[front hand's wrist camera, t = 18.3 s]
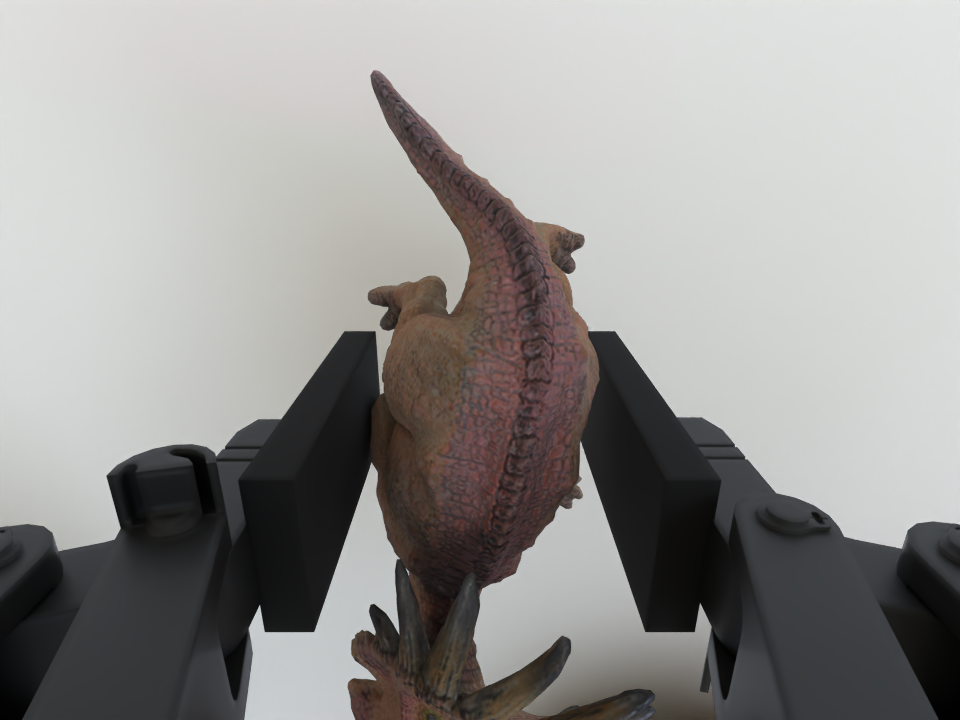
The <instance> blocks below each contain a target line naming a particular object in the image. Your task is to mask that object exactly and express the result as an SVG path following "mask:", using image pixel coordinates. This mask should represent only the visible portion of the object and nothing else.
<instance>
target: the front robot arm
mask: <svg viewBox="0 0 960 720" xmlns="http://www.w3.org/2000/svg"><path fill="white" fill-rule="evenodd" d="M588 337H589V339H590V341H591V343H592V345H593V347H594V349H595V352H596V354H597V358H598V364H599V379H600V380H599V382H598V384H597V387H596V391H595V394H594V397H593V400H592V405H591V409H590V412H589V414H588V420H587V424H586V426H585V428H584V430H583V432H582V436H581V443H582V446H583V449H584V452H585V455H586V458H587V461H588V464H589V467H590V470H591V472H592V475H593V478H594V481H595V484H596V487H597V490H598V493H599V496H600V499H601V502H602V505H603V508H604V511H605V514H606V517H607V520H608V523H609V526H610V529H611V532H612V535H613V538H614V540H615V543H616V546H617V549H618V552H619V555H620V558H621V561H622V564H623V567H624V570H625V573H626V576H627V579H628V582H629V585H630V588H631V591H632V594H633V597H634V600H635V603H636V606H637V609H638V611H639V614H640V617H641V620H642V623H643V626H644V629H645V632H695V627H696V622H697V616H698V610H699V605H700V603H701V605H702V607H703V609H704V611H705V614H706V616H707V618H708V620H709V622H710V624H711V626H712V628H711V633H710V639H709V644H708V649H707V654H706V659H705V665H704V670H703V675H702V681H701V688H700V691H701V692H706V693H708V690H709V685H710V681H711V685H712V692H713V700H714V708H715V715H716V720H960V525H959V524H950V523H941V522H926V523H918V524H916V525H914V526H913V527H912V528H910V529H909V530H908V532H907V535H906V538H905V541H904V544H903V547H902V549H900V548H895V547H890V546H885V545H879V544H874V543H869V542H864V541H859V540H854V539H850V538H846V537H844V536H843V534H842V532H841V530H840V528H839V527H838V526H837V524H836V523H835V522H834V521H833V520H832V518H831V517H830V516H829V515H827V514H826V513H824V512H823V511H821V510H820V509H818V508H817V507H815V506H814V505H811V504H809V503H806V502H804V501H802V500H799V499H797V498H794V497H790V496H785V495H781V494H777V493H775V491H774V490H773V489H772V488H771V487H770V486H769V484H768V483H767V482H766V481H765V480H764V478H763V477H762V476H761V475H760V474H759V473H758V471H757V470H756V469H755V468H754V467H753V465H752V464H751V463H750V462H749V461H748V460H745V456H744V455H743V454H742V452H741V451H740V450H739V449H738V448H737V447H735V444H734V443H733V442H732V441H731V439H730V438H729V437H728V436H727V435H726V434H725V432H724V431H723V430H722V429H720V428H718V427H717V426H715V425H713V424H712V423H710V422H708V421H707V420H705V419H703V418H677V417H676V416H675V414H674V413H673V412H672V410H671V409H670V407H669V406H668V405H667V403H666V402H665V400H664V399H663V398H662V396H661V395H660V393H659V392H658V391H657V389H656V388H655V386H654V385H653V384H652V382H651V381H650V380H649V378H648V377H647V375H646V374H645V373H644V371H643V370H642V368H641V367H640V366H639V364H638V363H637V361H636V360H635V359H634V357H633V356H632V354H631V353H630V352H629V350H628V349H627V347H626V346H625V345H624V343H623V342H622V340H621V339H620V338H619V336H618V335H617V333H616V332H615V331H588ZM379 395H380V389H379V374H378V360H377V346H376V331H345V332H344V333H343V334H342V336H341V337H340V339H339V340H338V341H337V343H336V344H335V345H334V347H333V348H332V350H331V351H330V352H329V354H328V355H327V357H326V358H325V359H324V361H323V362H322V364H321V365H320V366H319V368H318V369H317V371H316V372H315V373H314V375H313V376H312V378H311V379H310V380H309V382H308V383H307V385H306V386H305V387H304V389H303V390H302V391H301V393H300V394H299V396H298V397H297V398H296V400H295V401H294V403H293V404H292V405H291V407H290V408H289V410H288V411H287V412H286V414H285V415H284V417H283V418H282V419H258V420H257V421H255V422H253V423H252V424H250V425H248V426H246V427H245V428H243V429H241V430H240V431H238V432H237V433H236V434H235V435H234V437H233V438H232V439H231V440H230V441H229V443H228V444H227V445H226V446H225V449H223V450H222V451H221V452H220V453H219V454H218V456H217V457H216V455H215V453H214V452H213V451H211V450H210V449H208V448H207V447H203V446H198V445H193V444H188V445H171V446H166V447H161V448H156V449H152V450H149V451H146V452H143V453H141V454H138V455H135V456H133V457H131V458H129V459H127V460H126V461H124V462H122V463H120V464H119V465H117V466H116V467H115V468H114V469H113V470H112V471H111V472H110V473H109V474H108V475H107V480H108V483H109V487H110V491H111V494H112V498H113V502H114V505H115V509H116V512H117V516H118V520H119V523H120V527H121V529H120V531H119V533H118V535H117V537H116V539H115V540H112V541H108V542H104V543H99V544H94V545H89V546H84V547H79V548H74V549H68V550H63V551H58V549H57V546H56V543H55V540H54V537H53V534H52V532H50V531H49V530H48V529H46V528H45V527H44V526H37V525H29V524H26V525H17V526H9V527H8V526H6V527H1V528H0V720H244V717H245V709H246V701H247V694H248V686H249V678H250V671H251V663H252V656H253V652H252V645H251V639H250V633H249V626H250V624H251V622H252V620H253V618H254V616H255V614H256V611H257V609H258V607H259V605H260V607H261V613H262V618H263V624H264V630H265V632H314V631H315V628H316V625H317V622H318V619H319V616H320V613H321V610H322V607H323V604H324V601H325V598H326V595H327V593H328V590H329V587H330V584H331V581H332V578H333V575H334V572H335V569H336V566H337V563H338V560H339V557H340V554H341V551H342V548H343V545H344V542H345V539H346V536H347V533H348V530H349V528H350V525H351V522H352V519H353V516H354V513H355V510H356V507H357V504H358V501H359V498H360V495H361V492H362V489H363V486H364V483H365V480H366V477H367V474H368V471H369V468H370V465H371V462H372V460H371V456H370V439H371V417H372V416H371V410H372V407H373V405H374V403H375V402H376V400H377V398H378V397H379Z"/></svg>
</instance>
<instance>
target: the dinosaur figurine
mask: <svg viewBox="0 0 960 720" xmlns="http://www.w3.org/2000/svg"><path fill="white" fill-rule="evenodd" d="M370 76H371V83H372V87H373V90H374V92H375V95H376V97H377V100H378V102H379V104H380V107H381V109H382V112H383V114H384V117H385V119H386V121H387V123H388V126H389V127H390V129H391V130H392V131H393V133H394V135H395V136H396V138H397V140H398V141H399V143H400V144H401V146H402V147H403V149H404V150H405V152H406V154H407V155H408V157H409V159H410V161H411V163H412V164H413V166H414V167H415V168H416V170H417V173H418V174H420V175H421V177H422V178H423V179H424V181H425V182H426V183H427V184H428V186H429V187H430V188H431V189H432V191H433V192H434V194H435V195H436V197H437V199H438V201H439V202H440V204H441V206H442V207H443V208H444V210H445V211H446V213H447V214H448V216H449V217H450V219H451V221H452V222H453V223H454V225H455V226H456V227H457V229H458V230H459V232H460V233H461V235H462V238H463V240H464V242H465V245H466V247H467V250H468V254H469V258H470V262H471V263H470V267H469V272H468V279H467V281H466V284H465V288H464V291H463V293H462V297H461V299H460V301H459V302H458V304H457V306H456V307H455V309H454V310H453V311H452V313H451V314H448V312H447V310H446V306H447V299H446V286H445V284H444V282H443V281H442V280H441V279H440V278H439V277H436V276H427V277H425V278H423V279H421V280H420V281H418V282H415V283H411V282H405V283H402V284H400V285H398V286H382V287H378V288H375V289H373V290H371V291H370V292H369V293H368V300H369V301H370V302H371V304H374V305H379V306H383V307H388V308H389V309H388V311H387V312H386V314H385V315H384V316H383V318H382V319H381V321H380V326H381V327H382V329H384V330H387V331H389V330H392V329H395V330H394V332H393V336H392V340H391V345H390V346H389V348H388V350H387V353H386V358H385V361H384V364H383V365H384V366H383V373H382V381H383V383H384V393H383V394H380V395H379V397H378V398H377V400H376V402H375V403H374V405H373V407H372V410H371V416H372V417H371V439H370V456H371V460H372V463H373V465H374V467H375V468H376V470H377V472H378V483H377V489H376V492H377V498H378V501H379V505H380V507H381V510H382V513H383V519H384V523H385V528H386V531H387V538H388V540H389V542H390V543H391V545H392V547H393V548H394V552H395V553H396V555H397V556H398V557H399V558H400V559H397V562H396V569H395V584H396V593H397V611H398V620H399V633H400V635H399V634H398V632H397V630H396V629H395V627H394V625H393V623H392V622H391V620H390V619H389V617H388V616H387V614H386V613H385V612H384V611H382V610H381V609H380V608H379V607H377V606H376V605H375V604H372V605H371V606H370V609H369V613H370V617H371V620H372V622H373V625H374V628H375V631H376V634H375V635H373V634H372V633H371V632H369V631H365V632H364V631H363V630H361V631H360V632H359V633H357V634H356V635H355V638H354V639H353V640H352V645H351V653H352V656H353V658H354V659H355V661H357V662H358V663H359V664H361V665H362V666H363V667H365V668H366V669H367V670H369V672H370V673H371V674H372V675H373V676H374V677H375V678H376V680H377V681H375V680H369V679H355V678H354V679H352V680H350V681H349V682H348V690H349V694H350V698H351V709H352V712H353V714H354V717H355V720H646V719H649V718H651V717H652V715H653V714H654V712H655V709H654V708H653V707H651V706H650V704H651V703H652V701H653V700H654V698H655V694H654V693H653V692H652V691H651V690H643V689H634V690H627V691H624V692H622V693H621V694H619V695H617V696H613V697H610V698H606V699H603V700H600V701H598V702H595V703H592V704H588V705H584V706H581V707H580V706H571V707H569V708H566V709H565V710H563V711H562V712H560V713H559V714H557V715H554V716H549V717H546V716H535V715H531V714H528V713H526V712H524V711H522V710H521V709H523V708H524V707H526V706H527V705H528V704H530V703H531V702H532V701H533V700H534V699H535V698H536V697H537V696H539V695H540V694H541V693H542V692H543V691H544V690H545V689H546V688H547V687H548V686H549V685H550V684H551V683H552V682H553V681H554V680H555V679H556V678H557V677H558V676H559V674H560V673H561V671H562V669H563V667H564V665H565V663H566V660H567V658H568V656H569V655H570V652H571V641H570V639H569V638H567V637H564V636H561V637H560V638H559V639H558V640H557V641H556V642H555V643H554V644H553V646H552V647H551V648H550V649H549V650H547V651H546V652H545V653H543V654H542V655H541V656H540V657H538V658H537V659H536V660H534V661H533V662H531V663H530V664H528V665H527V666H525V667H524V668H522V669H521V670H520V671H518V672H516V673H514V674H512V675H510V676H508V677H506V678H504V679H502V680H500V681H498V682H496V683H494V684H491V685H488V686H486V687H485V685H484V681H483V677H482V673H481V669H480V666H479V664H478V662H477V659H476V652H477V651H476V644H475V642H474V640H473V636H474V631H475V630H474V629H475V625H476V621H477V617H478V614H479V608H480V599H479V597H480V593H481V591H482V588H484V587H486V586H488V585H490V584H492V583H497V582H500V581H502V580H503V579H504V578H506V577H509V576H511V575H513V574H515V573H516V570H517V568H518V565H519V562H520V559H521V555H522V552H523V551H524V550H526V549H527V548H529V547H532V546H533V545H534V543H535V540H536V538H537V536H538V535H539V534H540V533H541V532H542V531H543V529H544V528H545V526H547V525H548V524H549V523H550V522H552V521H553V519H554V517H555V512H556V510H557V509H558V507H559V505H561V506H562V507H564V508H565V509H570V508H572V500H573V499H574V498H576V499H581V498H582V497H583V494H582V491H581V489H580V488H579V487H578V486H577V485H576V484H577V483H578V482H580V481H581V479H582V478H581V477H580V476H579V464H580V440H581V436H582V432H583V430H584V428H585V426H586V424H587V420H588V414H589V412H590V409H591V405H592V400H593V397H594V394H595V391H596V387H597V384H598V382H599V380H600V379H599V364H598V358H597V354H596V352H595V349H594V347H593V345H592V343H591V341H590V339H589V337H588V327H587V325H586V323H585V321H584V320H583V319H582V318H581V316H580V315H579V314H578V313H577V312H576V311H575V310H574V308H573V307H572V305H573V299H572V290H571V287H570V284H569V281H568V279H567V277H566V275H565V274H564V272H565V273H567V274H570V273H572V272H573V271H574V270H575V262H574V260H573V258H572V257H571V253H572V252H573V251H575V250H577V249H579V248H581V247H582V246H583V245H584V242H585V240H584V236H583V235H581V234H578V233H574V232H572V231H569V230H567V229H565V228H563V227H561V226H558V225H553V224H547V223H537V222H533V221H532V220H529V219H526V218H525V217H524V216H523V215H522V214H521V213H520V212H519V211H518V210H517V209H516V208H515V206H514V204H513V202H512V201H511V200H510V199H508V198H505V197H504V196H502V195H501V194H500V193H499V192H498V191H497V190H496V189H495V188H493V187H492V186H491V185H490V184H489V182H488V180H487V179H485V178H482V177H480V176H478V175H477V174H475V173H474V172H472V171H471V170H470V169H468V168H467V166H466V165H465V164H464V162H463V159H462V156H461V155H459V154H457V153H455V152H454V151H453V150H452V149H451V148H450V147H449V146H448V145H447V144H446V143H445V142H444V141H443V139H442V138H441V137H440V136H439V134H438V133H437V132H436V131H435V130H434V129H433V128H432V127H431V126H430V125H429V124H428V123H427V122H426V120H425V119H423V118H422V117H421V116H420V115H418V114H417V112H416V111H415V110H414V109H413V108H412V107H411V106H410V105H409V104H408V103H407V102H406V101H405V100H404V99H403V98H402V97H401V96H400V95H399V93H398V92H397V91H396V90H395V89H394V88H393V86H392V84H391V83H390V82H389V80H388V79H387V78H386V77H385V76H384V75H383V74H382V73H380V72H379V71H373V72H372V74H371V75H370ZM406 568H407V570H408V571H409V576H408V573H407V571H406Z"/></svg>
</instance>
